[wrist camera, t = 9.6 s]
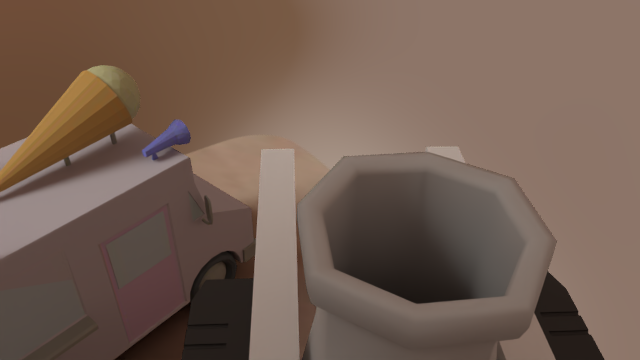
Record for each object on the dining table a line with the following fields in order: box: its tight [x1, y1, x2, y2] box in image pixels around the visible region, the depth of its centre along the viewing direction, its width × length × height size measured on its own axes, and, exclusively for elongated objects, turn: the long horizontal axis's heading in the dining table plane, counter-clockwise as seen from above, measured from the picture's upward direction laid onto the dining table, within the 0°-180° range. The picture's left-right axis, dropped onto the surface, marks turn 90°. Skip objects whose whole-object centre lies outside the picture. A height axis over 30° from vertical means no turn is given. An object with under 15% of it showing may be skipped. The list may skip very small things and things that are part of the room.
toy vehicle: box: [0, 65, 256, 360], centre depth 27 cm, size 9×20×15 cm, turn 140°
